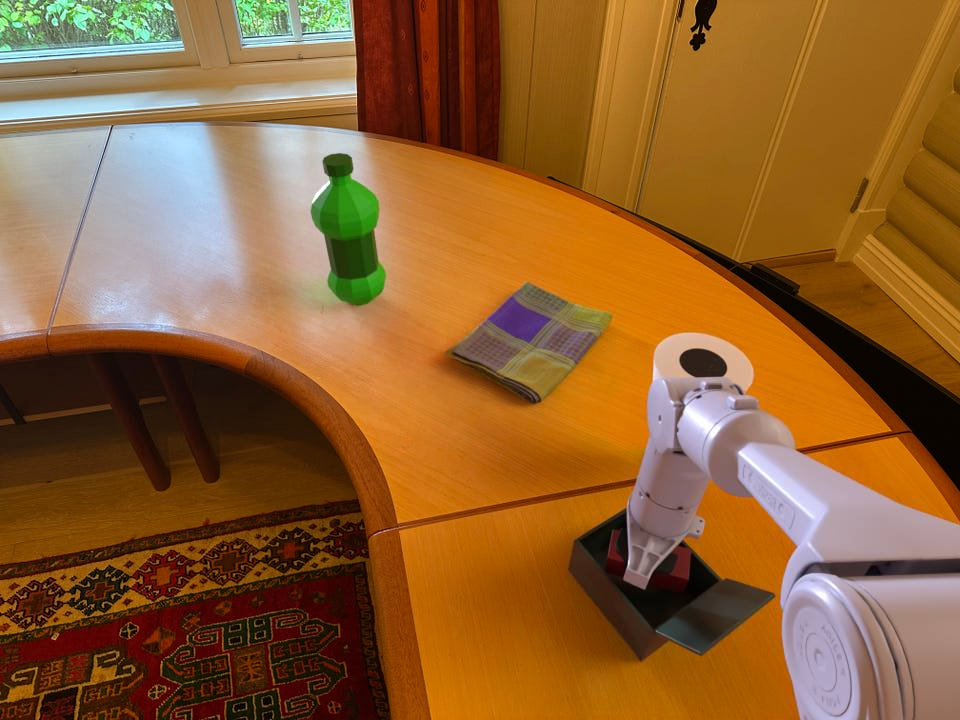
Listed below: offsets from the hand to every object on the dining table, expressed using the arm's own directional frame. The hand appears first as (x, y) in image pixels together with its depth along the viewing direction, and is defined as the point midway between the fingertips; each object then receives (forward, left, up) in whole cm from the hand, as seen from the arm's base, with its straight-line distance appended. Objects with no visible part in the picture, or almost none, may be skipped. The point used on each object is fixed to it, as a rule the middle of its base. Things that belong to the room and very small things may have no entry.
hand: (642, 559), depth 63 cm
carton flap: (-8, 0, +3) cm, 9 cm away
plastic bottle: (+65, +4, -6) cm, 65 cm away
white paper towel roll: (+10, -15, -6) cm, 19 cm away
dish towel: (+39, -14, -6) cm, 42 cm away
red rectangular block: (0, 0, -2) cm, 2 cm away
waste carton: (-1, 0, -6) cm, 6 cm away
